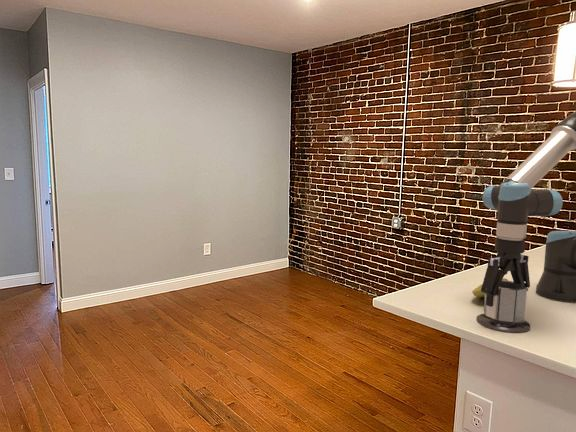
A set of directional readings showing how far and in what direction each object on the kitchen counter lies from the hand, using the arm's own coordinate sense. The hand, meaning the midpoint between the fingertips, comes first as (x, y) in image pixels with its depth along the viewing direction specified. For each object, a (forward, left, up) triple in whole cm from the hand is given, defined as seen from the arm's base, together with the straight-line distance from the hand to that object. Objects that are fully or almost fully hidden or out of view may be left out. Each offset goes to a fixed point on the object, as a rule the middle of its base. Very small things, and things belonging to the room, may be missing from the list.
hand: (503, 314), depth 125 cm
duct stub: (0, 0, -3) cm, 3 cm away
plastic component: (-9, -21, -3) cm, 23 cm away
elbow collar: (0, 0, 0) cm, 0 cm away
